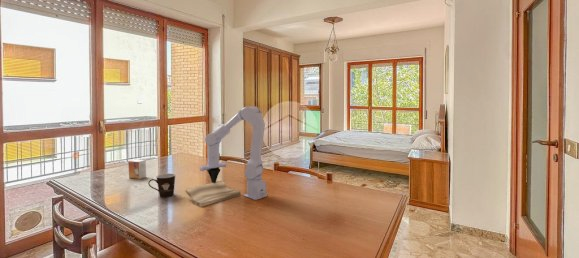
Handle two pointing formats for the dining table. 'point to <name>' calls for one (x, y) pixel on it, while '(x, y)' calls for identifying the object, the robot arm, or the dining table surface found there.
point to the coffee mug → (165, 184)
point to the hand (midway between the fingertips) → (213, 182)
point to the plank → (206, 190)
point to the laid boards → (216, 197)
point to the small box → (137, 169)
